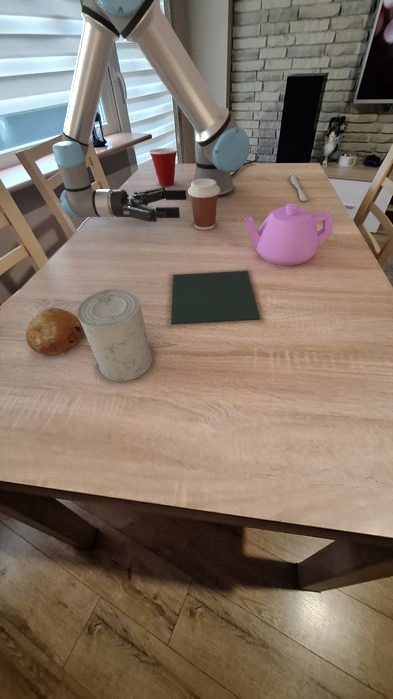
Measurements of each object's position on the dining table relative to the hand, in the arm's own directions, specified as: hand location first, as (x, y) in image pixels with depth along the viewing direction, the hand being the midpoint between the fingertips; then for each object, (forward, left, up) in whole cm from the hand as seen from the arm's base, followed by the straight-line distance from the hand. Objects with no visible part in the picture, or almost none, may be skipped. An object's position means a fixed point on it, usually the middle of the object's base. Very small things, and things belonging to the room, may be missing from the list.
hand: (183, 203), depth 89 cm
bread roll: (+52, +17, -7) cm, 55 cm away
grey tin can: (+47, +32, -7) cm, 57 cm away
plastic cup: (-23, -33, -7) cm, 41 cm away
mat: (+22, +31, -6) cm, 39 cm away
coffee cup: (-4, +5, -7) cm, 9 cm away
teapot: (-4, +33, -7) cm, 34 cm away
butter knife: (-48, +11, -7) cm, 49 cm away
